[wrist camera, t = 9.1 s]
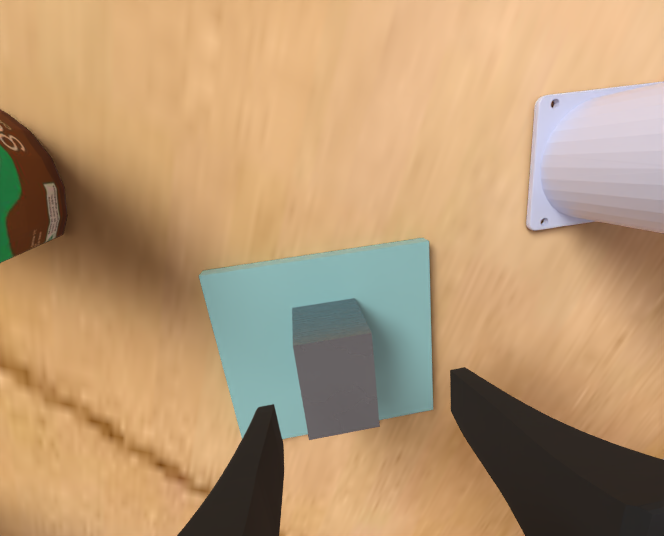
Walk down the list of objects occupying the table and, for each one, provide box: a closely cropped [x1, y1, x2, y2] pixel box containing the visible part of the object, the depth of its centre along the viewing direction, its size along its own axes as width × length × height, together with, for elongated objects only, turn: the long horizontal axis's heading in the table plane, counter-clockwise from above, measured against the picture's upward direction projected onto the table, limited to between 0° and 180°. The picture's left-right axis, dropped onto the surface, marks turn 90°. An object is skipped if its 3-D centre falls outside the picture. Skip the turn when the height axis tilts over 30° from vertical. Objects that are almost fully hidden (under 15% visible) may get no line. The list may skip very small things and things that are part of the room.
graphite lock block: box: [292, 298, 380, 440], centre depth 19 cm, size 4×6×4 cm, turn 7°
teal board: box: [199, 238, 433, 439], centre depth 22 cm, size 14×13×1 cm
